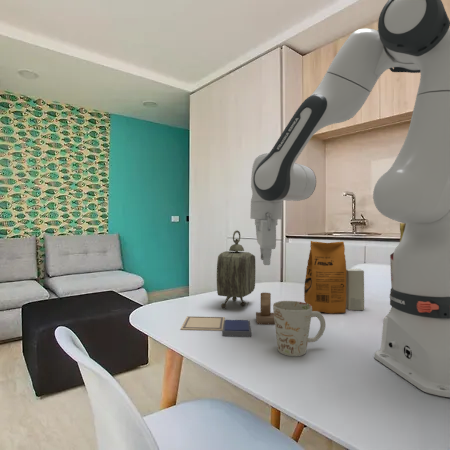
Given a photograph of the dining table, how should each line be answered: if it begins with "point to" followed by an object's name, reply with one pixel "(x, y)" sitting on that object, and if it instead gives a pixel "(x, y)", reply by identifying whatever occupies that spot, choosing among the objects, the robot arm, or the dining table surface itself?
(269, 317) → the stamp
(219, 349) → the dining table surface
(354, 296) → the box
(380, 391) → the dining table surface
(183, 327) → the card
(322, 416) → the dining table surface
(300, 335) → the mug
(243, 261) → the tabletop clock
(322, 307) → the coffee package
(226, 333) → the ink pad
